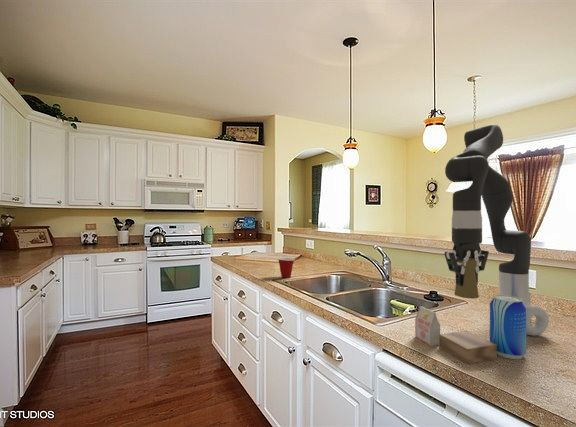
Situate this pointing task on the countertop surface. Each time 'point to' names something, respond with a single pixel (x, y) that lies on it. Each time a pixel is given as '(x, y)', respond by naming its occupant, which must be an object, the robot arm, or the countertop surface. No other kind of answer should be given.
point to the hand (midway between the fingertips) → (466, 285)
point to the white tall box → (427, 326)
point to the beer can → (508, 326)
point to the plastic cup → (286, 266)
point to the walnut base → (468, 347)
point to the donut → (540, 322)
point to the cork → (468, 281)
